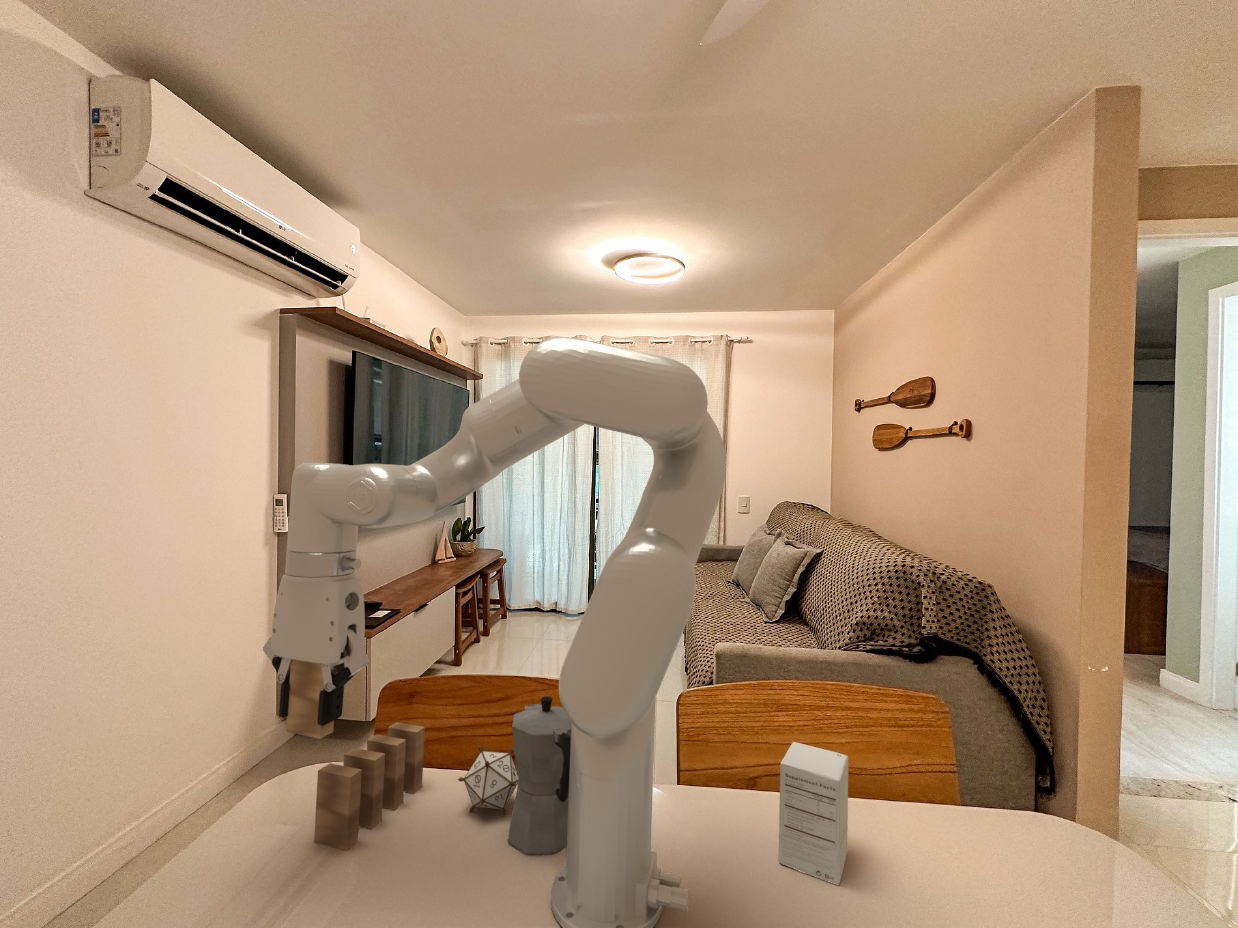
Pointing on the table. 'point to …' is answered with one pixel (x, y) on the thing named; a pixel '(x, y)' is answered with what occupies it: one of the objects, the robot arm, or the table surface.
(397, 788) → the domino
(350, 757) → the domino
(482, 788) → the game die
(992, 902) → the table surface
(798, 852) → the supplement box
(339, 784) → the domino
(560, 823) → the coffeepot
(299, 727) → the domino
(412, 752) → the domino
